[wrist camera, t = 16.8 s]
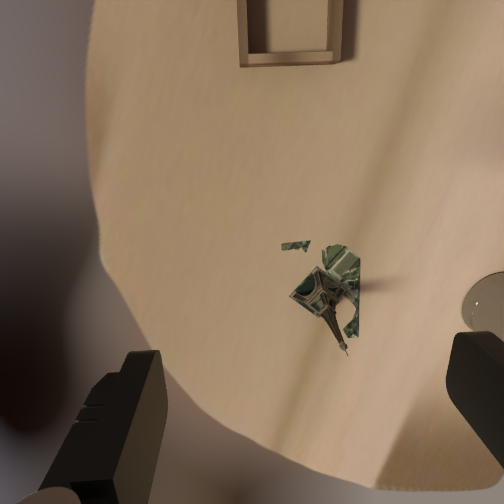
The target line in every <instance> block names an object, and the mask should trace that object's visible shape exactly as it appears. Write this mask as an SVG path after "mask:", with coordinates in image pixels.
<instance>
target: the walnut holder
mask: <svg viewBox="0 0 504 504" xmlns="http://www.w3.org/2000/svg"><path fill="white" fill-rule="evenodd" d="M237 16H238V38H239V61H240V68H242V67H270V66H298V65H327V64H335V63H337V62H339V61H341V42H342V21H343V0H328V18H327V47H326V51H325V52H296V53H266V54H248V32H247V4H246V0H237Z"/></svg>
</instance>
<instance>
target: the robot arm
mask: <svg viewBox="0 0 504 504" xmlns="http://www.w3.org/2000/svg"><path fill="white" fill-rule="evenodd" d="M462 316H463V319H464V322H465V323H466V324H467V326H468V327H469V328H470V329H471V330H473V331H474V332H460V333H457V334H456V335H455V337H454V340H453V345H452V350H451V355H450V360H449V365H448V370H447V375H446V388H447V392H448V394H449V397H450V399H451V401H452V402H453V404H454V405H455V406H456V408H457V409H458V410H459V411H460V413H461V414H462V415H463V417H464V418H465V419H466V421H467V422H468V423H469V424H470V426H471V427H472V428H473V430H474V431H475V432H476V434H477V435H478V436H479V437H480V439H481V440H482V441H483V443H484V444H485V445H486V447H487V448H488V449H489V450H490V452H491V453H492V454H493V456H494V457H495V458H496V460H497V461H498V462H499V463H500V465H501V466H502V467H503V469H504V273H497V274H493V275H490V276H488V277H486V278H484V279H482V280H481V281H479V282H478V283H477V284H476V285H474V286H473V287H472V288H471V290H470V291H469V292H468V294H467V295H466V297H465V299H464V302H463V305H462ZM167 411H168V398H167V390H166V384H165V378H164V371H163V365H162V358H161V354H160V351H159V350H147V351H131V352H129V353H128V354H127V357H126V359H125V361H124V363H123V365H122V368H121V370H120V372H114V373H107V374H106V375H105V376H104V377H103V378H102V379H101V380H100V381H99V382H98V383H97V384H96V385H95V386H94V387H93V388H92V389H91V391H90V393H89V395H88V397H87V399H86V400H85V402H84V404H83V409H81V410H80V412H79V414H78V416H77V418H76V419H75V424H73V425H72V427H71V429H70V431H69V433H68V435H67V437H66V438H65V440H64V442H63V444H62V446H61V448H60V450H59V452H58V454H57V456H56V457H55V459H54V461H53V463H52V465H51V467H50V469H49V471H48V473H47V474H46V477H45V478H44V480H43V482H42V484H41V486H40V488H39V489H38V491H37V492H34V493H32V494H31V495H29V496H27V497H25V498H24V499H22V500H21V501H19V502H18V503H17V504H148V499H149V495H150V491H151V487H152V482H153V478H154V473H155V469H156V464H157V460H158V455H159V451H160V447H161V442H162V438H163V433H164V429H165V424H166V419H167Z"/></svg>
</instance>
